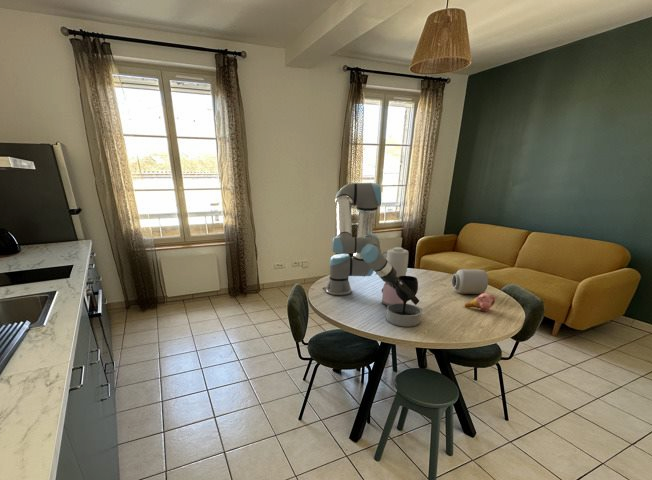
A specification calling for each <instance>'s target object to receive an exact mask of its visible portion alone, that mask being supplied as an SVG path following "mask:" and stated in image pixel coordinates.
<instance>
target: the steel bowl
mask: <svg viewBox="0 0 652 480" xmlns="http://www.w3.org/2000/svg"><path fill="white" fill-rule="evenodd" d="M403 305H404V303H395V304H391V305H386V306H387V307H386V314H385V318H386V320H387V321H388V322H389V323H390V324H392V325H395V326H397V327H406V328H410V327H415V326H418V325H419V324H420V323H421V321H422V312H423V311H422V309H421V308H420V307H419V306H417V305H415V304H411V303H406V306H405V312H407V313H410V314H412V315H400V314H396V313H395V312H403Z"/></svg>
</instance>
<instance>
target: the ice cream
mask: <svg viewBox="0 0 652 480" xmlns="http://www.w3.org/2000/svg"><path fill="white" fill-rule="evenodd" d="M495 302H496V297H495V296H494V295H493V294H491V293H488V292H487V293H485V292H484V293H482V294H479V295H478V296H477V297H474V298H473V299H472V300H471V301H468V302H466V303H465V304H464V307H465V308H466V309H469V308H475V309H479V310H480V311H481V312H487V311H488V310H489V309H491V308H492V307H493V306H494V305H495Z"/></svg>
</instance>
